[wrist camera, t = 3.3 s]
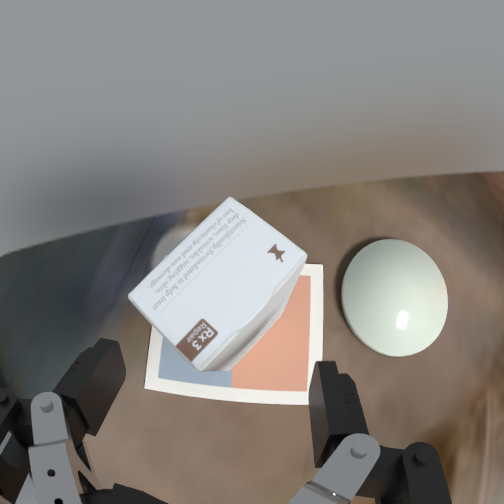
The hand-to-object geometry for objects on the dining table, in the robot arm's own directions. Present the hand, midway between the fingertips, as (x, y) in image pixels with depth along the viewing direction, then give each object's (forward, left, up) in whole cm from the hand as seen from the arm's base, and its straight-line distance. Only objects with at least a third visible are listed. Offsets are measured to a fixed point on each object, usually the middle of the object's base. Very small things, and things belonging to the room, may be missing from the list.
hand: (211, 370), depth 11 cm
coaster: (-13, -7, -10) cm, 18 cm away
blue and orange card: (0, -4, -10) cm, 11 cm away
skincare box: (0, -4, -10) cm, 11 cm away
